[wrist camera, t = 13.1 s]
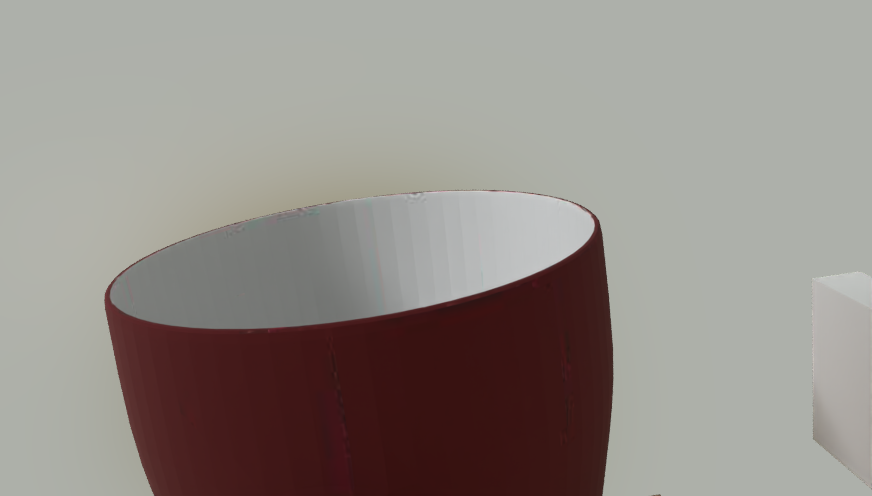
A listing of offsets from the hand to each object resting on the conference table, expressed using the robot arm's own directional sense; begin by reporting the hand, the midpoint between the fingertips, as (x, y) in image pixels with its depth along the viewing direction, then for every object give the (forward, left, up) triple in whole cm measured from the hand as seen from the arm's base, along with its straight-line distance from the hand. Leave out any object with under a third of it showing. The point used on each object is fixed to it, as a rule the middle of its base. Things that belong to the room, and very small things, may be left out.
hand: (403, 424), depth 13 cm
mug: (0, +1, -8) cm, 8 cm away
